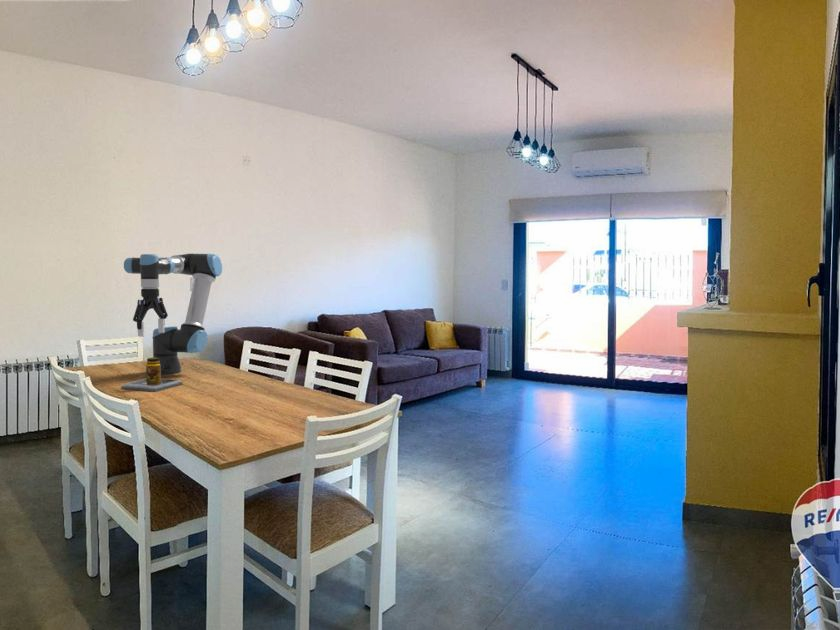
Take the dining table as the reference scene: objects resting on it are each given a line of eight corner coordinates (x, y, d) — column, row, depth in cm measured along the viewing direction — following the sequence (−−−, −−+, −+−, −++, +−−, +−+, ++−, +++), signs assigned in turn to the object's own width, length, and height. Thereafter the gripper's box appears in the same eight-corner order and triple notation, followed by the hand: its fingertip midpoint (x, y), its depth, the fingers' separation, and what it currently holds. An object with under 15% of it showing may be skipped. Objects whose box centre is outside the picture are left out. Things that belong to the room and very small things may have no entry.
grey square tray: (150, 381, 286) (150, 377, 286) (182, 384, 281) (182, 379, 281) (121, 388, 269) (121, 383, 269) (155, 391, 264) (154, 386, 264)
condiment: (148, 386, 270) (148, 359, 269) (141, 383, 276) (141, 357, 275) (165, 384, 275) (164, 358, 274) (157, 381, 281) (157, 356, 280)
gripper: (161, 286, 289) (162, 330, 292) (123, 289, 265) (124, 337, 268) (174, 286, 287) (176, 331, 290) (137, 290, 263) (139, 338, 266)
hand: (151, 334), depth 279 cm, fingers open, 13 cm apart
